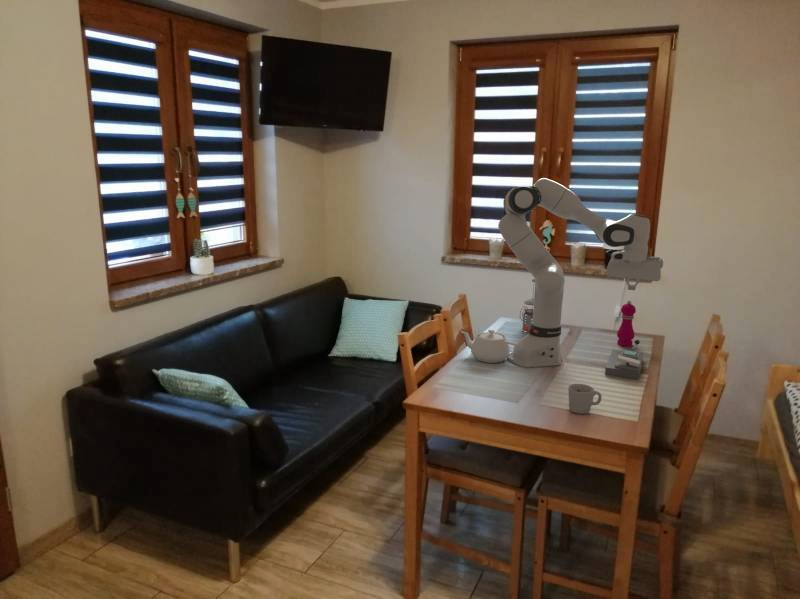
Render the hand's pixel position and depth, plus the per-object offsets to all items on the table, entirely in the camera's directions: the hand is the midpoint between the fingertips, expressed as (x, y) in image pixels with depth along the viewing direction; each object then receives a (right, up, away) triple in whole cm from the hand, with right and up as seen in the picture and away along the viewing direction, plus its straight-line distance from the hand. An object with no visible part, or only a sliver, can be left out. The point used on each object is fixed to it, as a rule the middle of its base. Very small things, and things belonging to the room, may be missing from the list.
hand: (631, 289), depth 238 cm
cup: (-33, -40, -44) cm, 68 cm away
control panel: (-4, -31, -3) cm, 31 cm away
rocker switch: (-6, -28, -12) cm, 31 cm away
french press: (-31, -19, +44) cm, 57 cm away
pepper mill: (+7, -24, +26) cm, 36 cm away
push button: (-3, -28, -5) cm, 28 cm away
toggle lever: (+1, -25, +2) cm, 25 cm away
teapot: (-57, -28, +5) cm, 64 cm away
